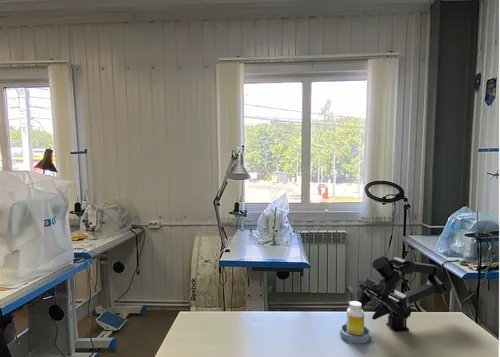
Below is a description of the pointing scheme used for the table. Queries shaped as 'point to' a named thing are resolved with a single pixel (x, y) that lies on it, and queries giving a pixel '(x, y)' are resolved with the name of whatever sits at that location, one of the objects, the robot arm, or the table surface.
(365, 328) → the round tray
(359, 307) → the supplement bottle
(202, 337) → the table surface
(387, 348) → the table surface
